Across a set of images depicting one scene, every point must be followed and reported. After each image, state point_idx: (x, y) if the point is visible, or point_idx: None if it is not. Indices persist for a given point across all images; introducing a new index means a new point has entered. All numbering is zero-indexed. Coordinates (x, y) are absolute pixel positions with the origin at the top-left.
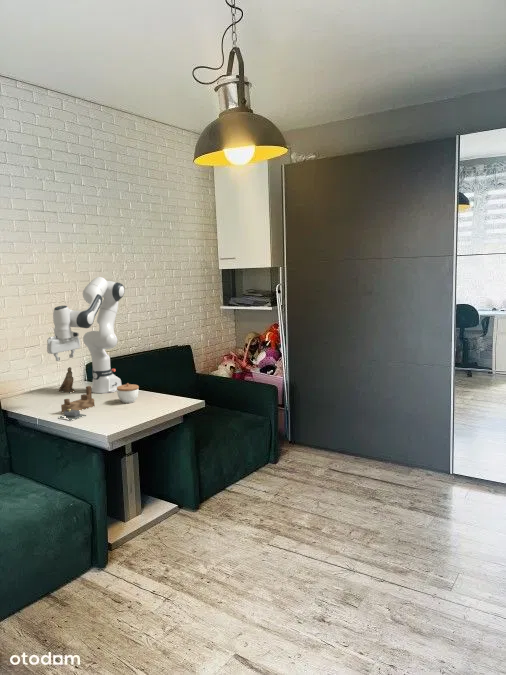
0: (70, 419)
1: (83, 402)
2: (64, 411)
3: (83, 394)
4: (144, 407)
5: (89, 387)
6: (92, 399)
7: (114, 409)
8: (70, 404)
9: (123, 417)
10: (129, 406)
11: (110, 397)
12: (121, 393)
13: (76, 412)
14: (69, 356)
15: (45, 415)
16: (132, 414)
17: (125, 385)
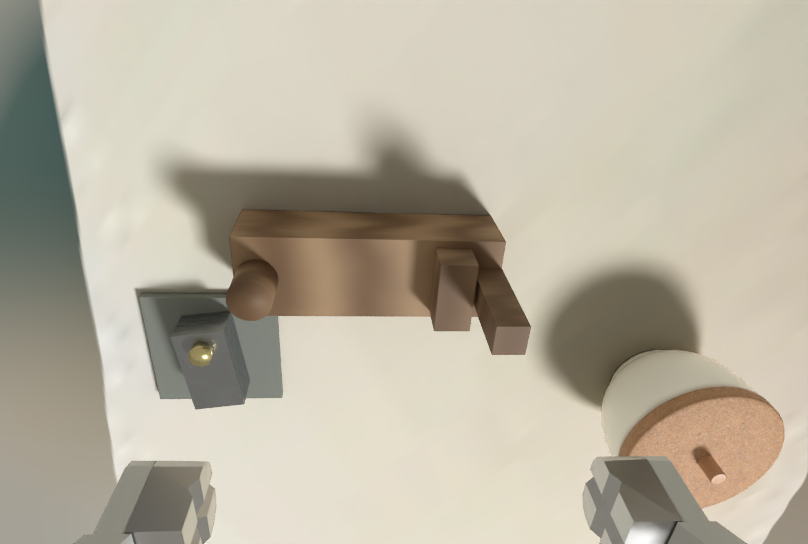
0: (162, 393)
1: (384, 313)
2: (171, 337)
3: (468, 269)
4: (554, 508)
5: (504, 350)
6: (475, 315)
7: (465, 425)
8: (278, 292)
9: (365, 535)
10: (548, 447)
11: (732, 211)
12: (611, 440)
13: (215, 403)
14: (610, 475)
15: (118, 155)
16: (425, 535)
17: (731, 433)
